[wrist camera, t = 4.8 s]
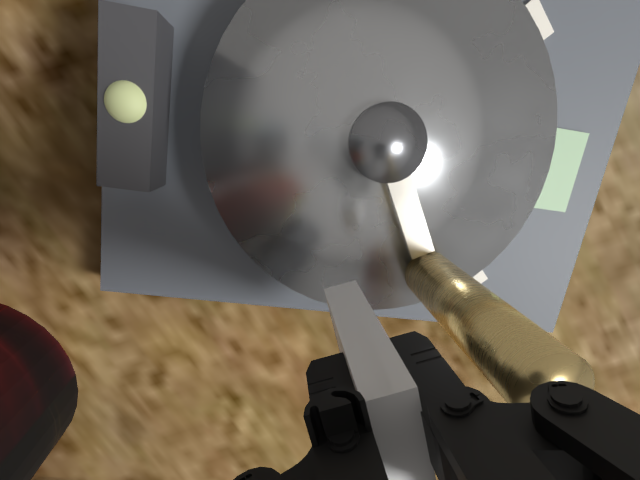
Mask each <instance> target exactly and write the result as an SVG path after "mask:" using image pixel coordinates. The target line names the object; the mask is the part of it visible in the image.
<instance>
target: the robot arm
mask: <svg viewBox="0 0 640 480" xmlns="http://www.w3.org/2000/svg"><path fill="white" fill-rule="evenodd" d="M324 292H325V296H326V299H327V303H328V307H329V311H330V315H331V319H332V323H333V327H334V331H335V335H336V339H337V343H338V347H339V351H340V353H338V354H335V355H331V356H327V357H324V358H320V359H317V360H313V361H311V363H310V365H309V367H308V369H307V372H306V376H307V384H308V391H309V398H310V401H309V403H308V404H307V405H306V407H305V411H304V420H305V423H306V426H307V430H308V433H309V436H310V440H311V443H312V447H311V449H310V451H309V452H308V454H307V455H306V456H305V457H304V458H303V459H302V460H301V461H300V462H299V463H298V464H296V465H295V466H294V467H292V468H290V469H289V470H287V471H285V472H284V473H282V474H280V473H278V472H277V471H275V470H274V469H272V468H266V467H258V468H254V469H250V470H247V471H246V472H244V473H242V474H240V475H239V476H237V477H236V478H235V479H234V480H436V478H435V473H436V475H437V477H438V479H439V480H640V415H639V414H637V413H635V412H634V411H632V410H630V409H628V408H626V407H624V406H622V405H621V404H619V403H617V402H615V401H613V400H611V399H609V398H607V397H606V396H604V395H602V394H600V393H598V392H596V391H594V390H593V389H591V388H588V387H586V386H583V385H581V384H578V383H574V382H568V381H549V382H546V383H543V384H540V385H538V386H537V387H536V388H535V389H533V390H532V392H531V396H530V402H529V403H496V402H491V401H490V400H489V399H488V398H487V397H486V396H485V395H484V394H482V393H481V392H480V391H478V390H476V389H473V388H470V387H465V385H464V384H463V383H462V382H461V380H460V379H459V378H458V376H457V375H456V374H455V372H454V371H453V370H452V369H451V367H450V366H449V365H448V363H447V362H446V361H445V360H444V358H443V357H442V356H441V354H440V353H439V352H438V351H437V349H435V347H434V345H433V344H432V343H431V341H430V340H429V339H428V338H427V337H425V336H423V335H421V334H419V333H417V332H415V331H413V332H410V333H406V334H402V335H399V336H395V337H392V338H389V337H388V335H387V333H386V332H385V330H384V328H383V327H382V325H381V323H380V321H379V320H378V318H377V316H376V315H375V313H374V311H373V309H372V308H371V306H370V304H369V302H368V301H367V299H366V297H365V296H364V294H363V292H362V290H361V289H360V287H359V285H358V284H357V282H356V280H355V281H351V282H347V283H343V284H339V285H336V286H332V287H328V288H325V289H324ZM434 471H435V473H434Z"/></svg>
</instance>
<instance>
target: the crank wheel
mask: <svg viewBox="0 0 640 480" xmlns="http://www.w3.org/2000/svg"><path fill="white" fill-rule="evenodd" d="M556 131H557V94H556V86H555V78H554V73H553V69H552V65H551V61H550V57H549V53H548V51H547V48H546V46H545V43H544V40H543V38H542V35H541V33H540V30H539V28H538V27H537V25H536V23H535V21H534V20H533V18H532V16H531V14H530V12H529V11H528V9H527V7H526V6H525V5H524V3H523V2H522V1H521V0H246V1H245V2H244V3H243V4H242V6H241V7H240V8H239V9H238V11H237V12H236V14H235V15H234V17H233V19H232V20H231V22H230V24H229V25H228V27H227V29H226V30H225V32H224V33H223V35H222V38H221V40H220V42H219V45H218V47H217V49H216V51H215V54H214V56H213V58H212V61H211V65H210V68H209V71H208V75H207V78H206V82H205V86H204V92H203V99H202V105H201V116H200V141H201V150H202V159H203V165H204V169H205V174H206V178H207V182H208V186H209V189H210V191H211V194H212V197H213V199H214V202H215V204H216V207H217V210H218V211H219V213H220V215H221V217H222V219H223V221H224V222H225V224H226V226H227V228H228V230H229V231H230V233H231V234H232V235H233V237H234V238H235V240H236V241H237V242H238V244H239V245H240V246H241V248H242V249H243V250H244V251H245V252H246V253H247V254H248V255H249V257H250V258H251V259H252V260H253V261H254V262H255V263H256V264H257V265H258V266H259V267H261V268H262V269H263V270H264V271H265V272H267V273H268V274H269V275H270V276H272V277H273V278H274V279H275V280H277V281H279V282H280V283H282V284H284V285H285V286H287V287H288V288H290V289H292V290H293V291H295V292H298V293H300V294H302V295H304V296H306V297H309V298H311V299H313V300H317V301H320V302H323V303H326V304H328V303H327V299H326V296H325V292H324V289H325V288H328V287H332V286H336V285H339V284H343V283H347V282H351V281H355V280H356V282H357V284H358V285H359V287H360V289H361V290H362V292H363V294H364V296H365V297H366V299H367V301H368V302H369V304H370V306H371V308H372V309H373V310H379V309H392V308H399V307H404V306H409V305H414V304H417V303H420V302H421V303H422V304H423V305H424V306H425V307H426V309H427V310H428V311H429V312H430V313H431V314H432V316H433V317H434V318H435V319H436V320H437V321H438V323H439V324H440V325H441V326H442V327H443V328H444V330H445V331H446V332H447V333H448V334H449V335H450V337H451V338H452V339H453V340H454V341H455V342H456V344H457V345H458V346H459V347H460V348H461V349H462V351H463V352H464V353H465V354H466V355H467V356H468V358H469V359H470V360H471V361H472V362H473V363H474V365H475V366H476V367H477V368H478V369H479V370H480V372H481V373H482V374H483V375H484V376H485V377H486V379H487V380H488V381H489V382H490V383H491V384H492V386H493V387H494V388H495V389H496V390H497V391H498V393H499V394H500V395H501V396H502V397H503V398H504V400H505V401H506V402H507V403H529V402H530V396H531V392H532V390H533V389H535V388H536V387H537V386H538V385H540V384H543V383H546V382H549V381H568V382H574V383H578V384H581V385H583V386H586V387H588V388H591V389H593V390H594V384H595V379H594V373H593V370H592V368H591V366H590V365H589V363H588V362H587V361H586V360H584V359H583V358H582V357H580V356H579V355H578V354H576V353H575V352H573V351H572V350H571V349H569V348H568V347H567V346H565V345H564V344H563V343H561V342H560V341H558V340H557V339H556V338H554V337H553V336H552V335H550V334H549V333H548V332H546V331H545V330H543V329H542V328H541V327H539V326H538V325H537V324H535V323H534V322H533V321H531V320H530V319H529V318H527V317H526V316H524V315H523V314H522V313H520V312H519V311H518V310H516V309H515V308H514V307H512V306H511V305H509V304H508V303H507V302H505V301H504V300H503V299H501V298H500V297H499V296H497V295H496V294H494V293H493V292H492V291H490V290H489V289H488V288H486V287H485V286H484V285H482V284H481V283H479V282H478V281H477V280H475V279H474V278H473V277H474V276H475V275H476V274H478V273H479V272H480V271H481V270H483V269H484V268H485V267H487V266H488V265H489V264H490V263H491V262H492V261H493V260H494V259H495V258H496V257H497V256H498V255H499V254H500V253H501V252H502V251H503V250H504V249H505V248H506V247H507V246H508V245H509V243H510V242H511V241H512V240H513V239H514V237H515V236H516V235H517V234H518V232H519V231H520V229H521V228H522V226H523V225H524V223H525V222H526V220H527V219H528V217H529V215H530V214H531V212H532V210H533V208H534V206H535V204H536V202H537V200H538V198H539V196H540V194H541V192H542V189H543V186H544V183H545V181H546V178H547V175H548V172H549V169H550V165H551V161H552V156H553V152H554V148H555V139H556Z"/></svg>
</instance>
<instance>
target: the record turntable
mask: <svg viewBox="0 0 640 480" xmlns="http://www.w3.org/2000/svg"><path fill="white" fill-rule="evenodd" d="M245 1H246V0H98V86H97V186H102V214H101V289H100V290H101V291H112V292H123V293H133V294H144V295H155V296H166V297H177V298H187V299H198V300H209V301H220V302H230V303H241V304H252V305H263V306H274V307H284V308H295V309H306V310H317V311H328V312H330V311H329V307H328V304H326V303H323V302H320V301H317V300H313V299H311V298H309V297H306V296H304V295H302V294H300V293H298V292H295V291H293V290H292V289H290V288H288V287H287V286H285V285H284V284H282V283H280V282H279V281H277V280H275V279H274V278H273V277H272V276H270V275H269V274H268V273H267V272H265V271H264V270H263V269H262V268H261V267H259V266H258V265H257V264H256V263H255V262H254V261H253V260H252V259H251V258H250V257H249V255H248V254H247V253H246V252H245V251H244V250H243V249H242V248H241V246H240V245H239V244H238V242H237V241H236V240H235V238H234V237H233V235H232V234H231V233H230V231H229V230H228V228H227V226H226V224H225V222H224V221H223V219H222V217H221V215H220V213H219V211H218V210H217V207H216V204H215V202H214V199H213V197H212V194H211V191H210V189H209V186H208V182H207V178H206V174H205V169H204V165H203V159H202V150H201V141H200V116H201V105H202V99H203V92H204V86H205V82H206V78H207V75H208V71H209V68H210V65H211V61H212V58H213V56H214V54H215V51H216V49H217V47H218V45H219V42H220V40H221V38H222V35H223V33H224V32H225V30H226V29H227V27H228V25H229V24H230V22H231V20H232V19H233V17H234V15H235V14H236V12H237V11H238V9H239V8H240V7H241V6H242V4H243V3H244V2H245ZM521 1H522V2H523V3H524V5H525V6H526V7H527V9H528V11H529V12H530V14H531V16H532V18H533V20H534V21H535V23H536V25H537V27H538V28H539V30H540V33H541V35H542V38H543V40H544V43H545V46H546V48H547V51H548V53H549V57H550V61H551V65H552V69H553V73H554V78H555V86H556V94H557V131H556V139H555V148H554V152H553V156H552V161H551V165H550V169H549V172H548V175H547V178H546V181H545V183H544V186H543V189H542V192H541V194H540V196H539V198H538V200H537V202H536V204H535V206H534V208H533V210H532V212H531V214H530V215H529V217H528V219H527V220H526V222H525V223H524V225H523V226H522V228H521V229H520V231H519V232H518V234H517V235H516V236H515V237H514V239H513V240H512V241H511V242H510V243H509V245H508V246H507V247H506V248H505V249H504V250H503V251H502V252H501V253H500V254H499V255H498V256H497V257H496V258H495V259H494V260H493V261H492V262H491V263H490V264H489V265H488V266H487V267H485V268H484V269H483V270H481V271H480V272H479V273H478V274H476V275H475V276H474V277H473V278H474V279H475V280H477V281H478V282H479V283H481V284H482V285H484V286H485V287H486V288H488V289H489V290H490V291H492V292H493V293H494V294H496V295H497V296H499V297H500V298H501V299H503V300H504V301H505V302H507V303H508V304H509V305H511V306H512V307H514V308H515V309H516V310H518V311H519V312H520V313H522V314H523V315H524V316H526V317H527V318H529V319H530V320H531V321H533V322H534V323H535V324H537V325H538V326H539V327H541V328H542V329H543V330H545V331H546V332H553V330H554V327H555V324H556V321H557V318H558V315H559V312H560V308H561V305H562V302H563V299H564V296H565V293H566V290H567V287H568V284H569V281H570V277H571V274H572V271H573V268H574V265H575V262H576V259H577V256H578V253H579V250H580V247H581V243H582V240H583V237H584V234H585V231H586V228H587V225H588V222H589V219H590V216H591V212H592V209H593V206H594V203H595V200H596V197H597V194H598V191H599V188H600V185H601V182H602V178H603V175H604V172H605V169H606V166H607V163H608V160H609V157H610V154H611V151H612V147H613V144H614V141H615V138H616V135H617V132H618V129H619V126H620V123H621V120H622V117H623V113H624V110H625V107H626V104H627V101H628V98H629V95H630V92H631V89H632V86H633V82H634V79H635V76H636V73H637V70H638V67H639V64H640V0H521ZM373 311H374V313H375V315H376V316H381V317H392V318H403V319H414V320H425V321H435V322H438V321H437V320H436V319H435V318H434V317H433V316H432V314H431V313H430V312H429V311H428V310H427V309H426V307H425V306H424V305H423V304H422V303H421V302H420V303H417V304H414V305H409V306H404V307H399V308H392V309H379V310H373Z"/></svg>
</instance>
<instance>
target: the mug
mask: <svg viewBox="0 0 640 480" xmlns="http://www.w3.org/2000/svg"><path fill="white" fill-rule="evenodd" d="M77 397H78V387H77V380H76V374H75V372H74V369H73V367H72V364H71V362H70V359H69V357H68V356H67V354H66V353H65V351H64V350H63V348H62V347H61V345H60V344H59V342H58V341H57V340H56V339H55V338H54V337H53V336H52V335H51V334H50V333H49V332H48V331H47V330H46V329H45V328H44V327H42V326H41V325H40V324H38V323H37V322H35V321H34V320H33V319H31V318H30V317H29V316H27V315H25V314H23V313H21V312H19V311H17V310H15V309H13V308H11V307H9V306H6V305H3V304H0V480H31V478H32V477H33V476H34V474H35V473H36V471H37V470H38V469H39V467H40V466H41V464H42V463H43V462H44V460H45V459H46V457H47V456H48V455H49V453H50V452H51V450H52V449H53V448H54V446H55V445H56V443H57V442H58V440H59V439H60V438H61V436H62V435H63V433H64V432H65V430H66V429H67V427H68V426H69V424H70V423H71V421H72V418H73V415H74V412H75V410H76V407H77Z"/></svg>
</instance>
